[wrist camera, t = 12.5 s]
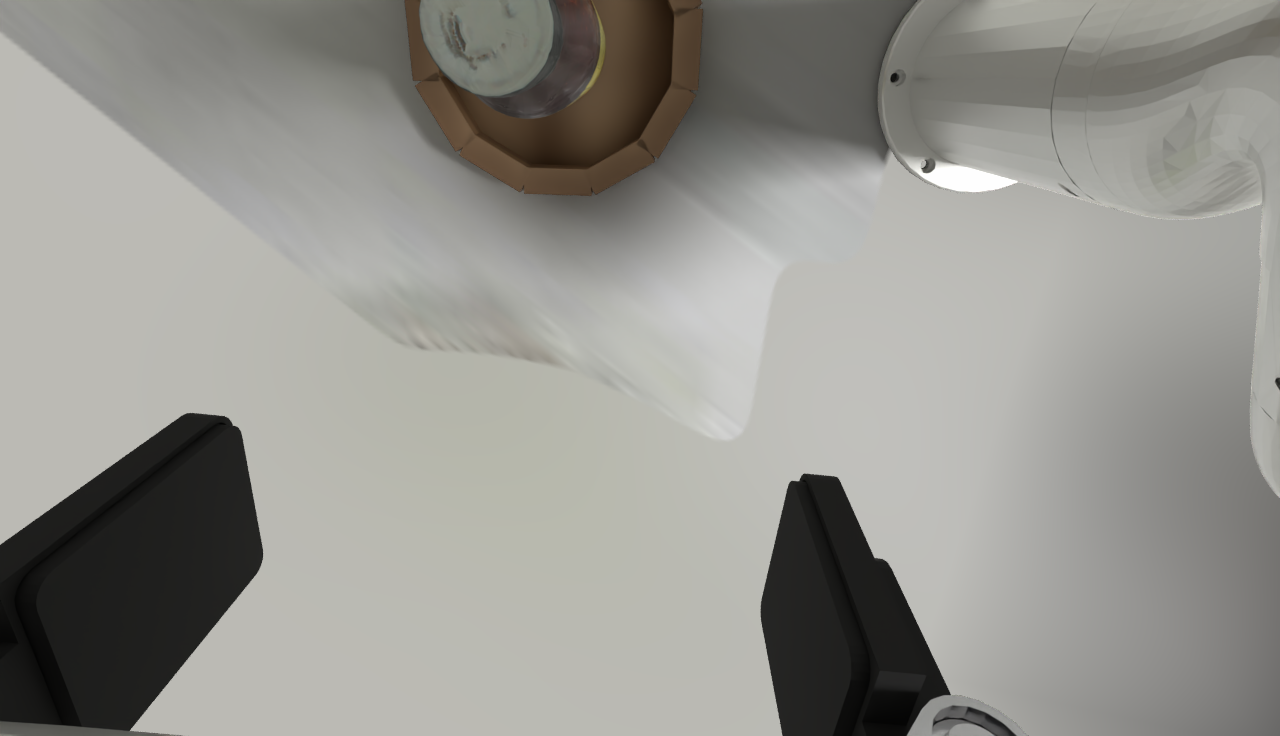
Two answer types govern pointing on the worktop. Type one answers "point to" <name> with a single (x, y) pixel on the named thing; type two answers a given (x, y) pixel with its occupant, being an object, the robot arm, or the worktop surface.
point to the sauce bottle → (516, 50)
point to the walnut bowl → (580, 104)
